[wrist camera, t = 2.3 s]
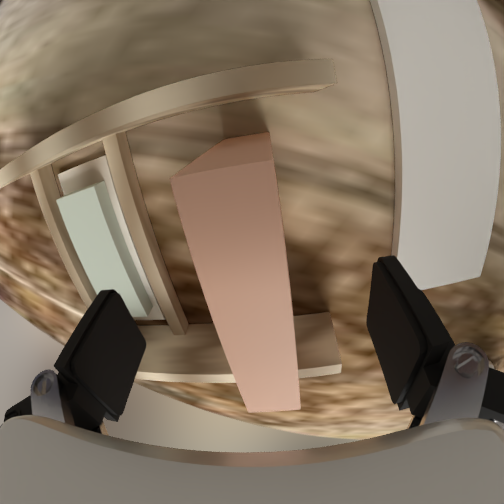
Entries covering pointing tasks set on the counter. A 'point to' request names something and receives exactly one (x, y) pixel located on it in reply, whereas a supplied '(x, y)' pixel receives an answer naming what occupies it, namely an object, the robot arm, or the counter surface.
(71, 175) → the offcut lower
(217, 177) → the sheet
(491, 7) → the counter surface
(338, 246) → the counter surface
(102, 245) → the offcut upper
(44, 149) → the rack
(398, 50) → the mat
